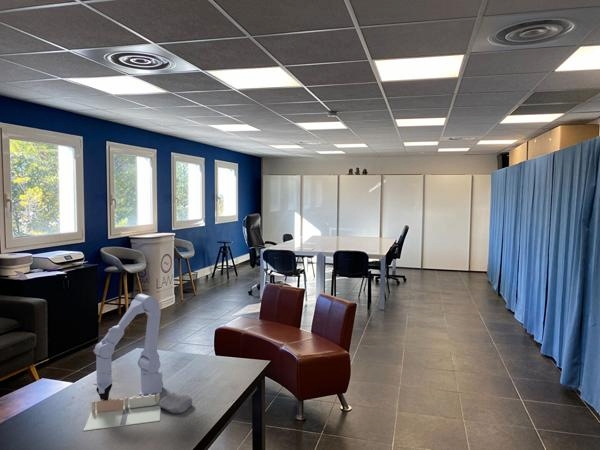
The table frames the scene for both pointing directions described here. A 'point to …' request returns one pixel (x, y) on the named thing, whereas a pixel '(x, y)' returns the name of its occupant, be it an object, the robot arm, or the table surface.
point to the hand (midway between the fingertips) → (104, 403)
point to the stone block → (176, 403)
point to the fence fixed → (142, 401)
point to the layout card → (123, 417)
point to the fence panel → (107, 405)
